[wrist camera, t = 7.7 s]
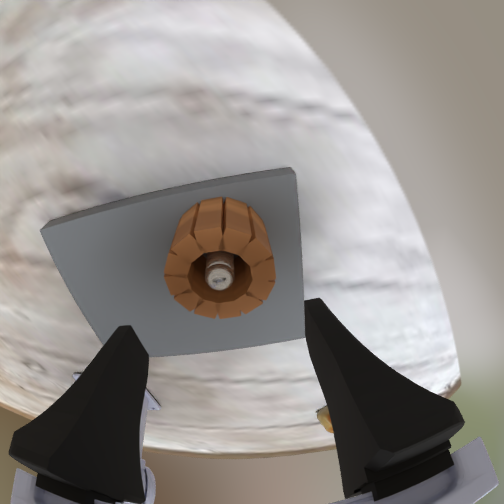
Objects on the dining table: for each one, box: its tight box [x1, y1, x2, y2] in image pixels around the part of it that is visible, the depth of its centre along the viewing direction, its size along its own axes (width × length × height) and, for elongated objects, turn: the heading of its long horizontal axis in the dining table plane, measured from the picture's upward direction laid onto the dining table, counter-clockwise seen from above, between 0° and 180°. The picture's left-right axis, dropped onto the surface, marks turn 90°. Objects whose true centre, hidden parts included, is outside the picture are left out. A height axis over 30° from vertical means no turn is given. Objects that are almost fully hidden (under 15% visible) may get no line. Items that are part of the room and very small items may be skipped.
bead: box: [164, 197, 276, 319], centre depth 16 cm, size 6×6×4 cm
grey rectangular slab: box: [40, 167, 305, 357], centre depth 20 cm, size 18×14×2 cm
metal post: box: [205, 250, 234, 291], centre depth 16 cm, size 2×2×4 cm
